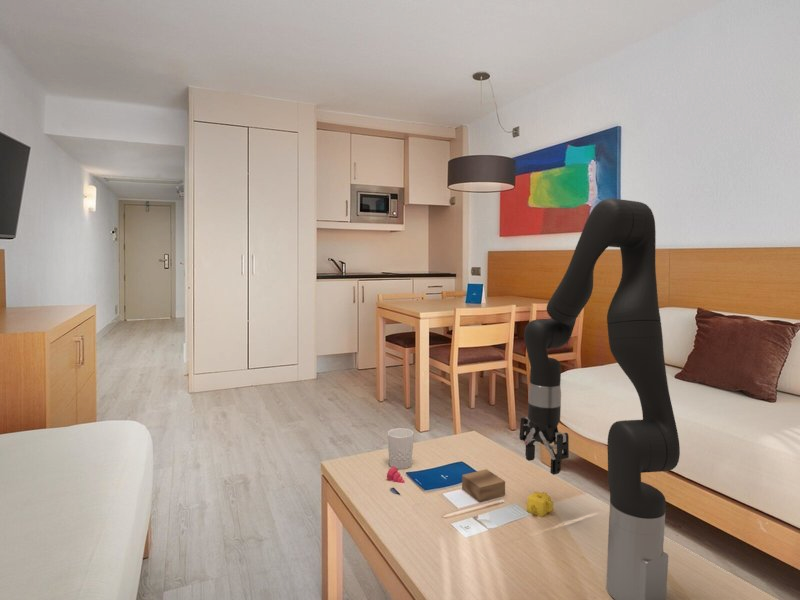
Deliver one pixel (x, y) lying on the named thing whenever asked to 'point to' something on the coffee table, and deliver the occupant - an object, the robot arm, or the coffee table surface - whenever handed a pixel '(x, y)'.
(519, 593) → the coffee table surface
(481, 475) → the base block
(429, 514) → the coffee table surface
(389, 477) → the toy pieces
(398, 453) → the white cup
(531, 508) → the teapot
